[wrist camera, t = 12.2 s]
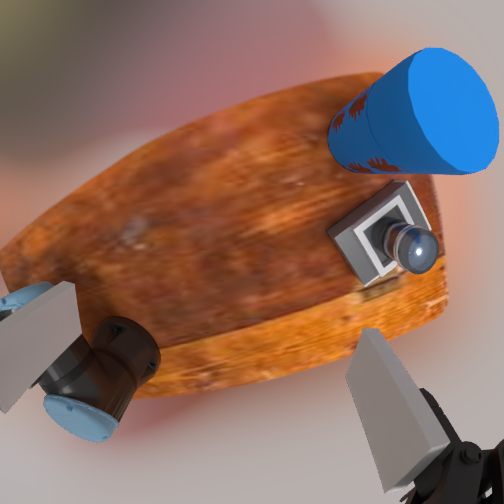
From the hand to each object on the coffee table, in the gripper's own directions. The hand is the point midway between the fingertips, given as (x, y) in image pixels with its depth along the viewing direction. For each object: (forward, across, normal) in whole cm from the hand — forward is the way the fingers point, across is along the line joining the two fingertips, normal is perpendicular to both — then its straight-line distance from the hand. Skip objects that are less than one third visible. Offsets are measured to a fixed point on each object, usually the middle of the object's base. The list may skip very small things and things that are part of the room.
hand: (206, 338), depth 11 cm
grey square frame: (+32, +20, +2) cm, 38 cm away
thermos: (+32, +16, +16) cm, 39 cm away
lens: (+27, +21, +2) cm, 34 cm away
